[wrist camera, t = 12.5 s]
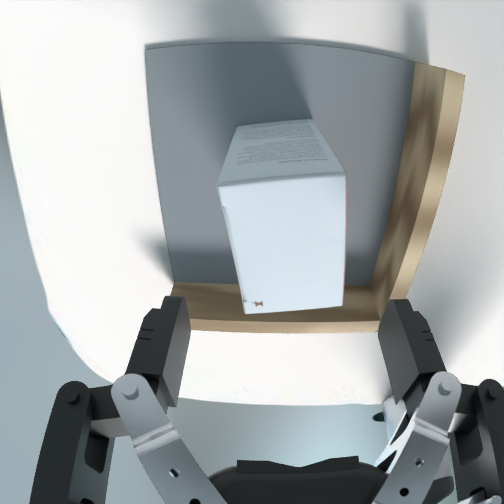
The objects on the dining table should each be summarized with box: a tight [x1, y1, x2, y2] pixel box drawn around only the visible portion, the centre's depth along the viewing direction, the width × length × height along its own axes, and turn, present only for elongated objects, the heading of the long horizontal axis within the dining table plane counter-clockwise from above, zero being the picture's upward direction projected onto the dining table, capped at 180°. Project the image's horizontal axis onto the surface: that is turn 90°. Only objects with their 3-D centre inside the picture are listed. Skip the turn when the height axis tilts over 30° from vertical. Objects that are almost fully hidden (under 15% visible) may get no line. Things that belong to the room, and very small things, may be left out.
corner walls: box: [170, 62, 465, 333], centre depth 23 cm, size 22×20×5 cm
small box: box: [216, 119, 347, 314], centre depth 19 cm, size 8×6×10 cm
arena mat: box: [145, 42, 415, 286], centre depth 24 cm, size 21×19×1 cm
